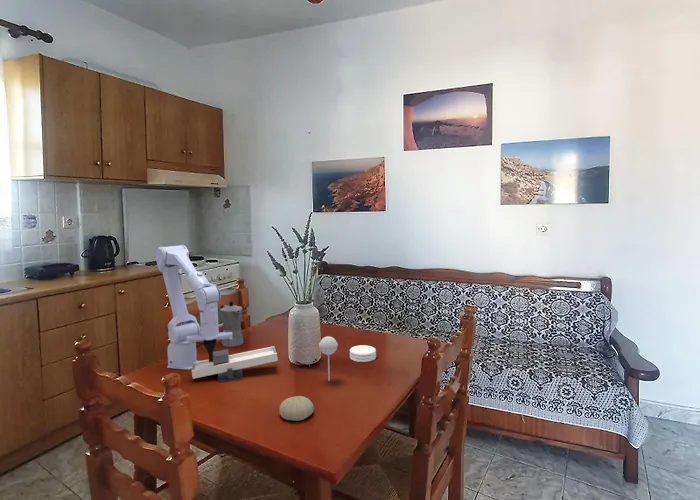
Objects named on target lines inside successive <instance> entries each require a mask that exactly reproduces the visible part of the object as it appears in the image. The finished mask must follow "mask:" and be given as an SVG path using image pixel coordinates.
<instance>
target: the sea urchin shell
mask: <svg viewBox="0 0 700 500" xmlns="http://www.w3.org/2000/svg"><path fill="white" fill-rule="evenodd" d="M278 411H279V414H280V416H281V418H282V419H284V420H287V421H293V422H301V421H303V420H306V419H307V418H308V417H310V416H311V415H312V414H313V412H314V404H313V402H312V401H311V400H310V399H309V398H307V397H306V396H302V395H298V396H297V395H296V396H295V395H294V396H291V397H287V398H285V399H284V400H283V401H282V402H281V403H280V405H279V410H278Z"/></svg>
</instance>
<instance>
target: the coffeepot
mask: <svg viewBox="0 0 700 500" xmlns="http://www.w3.org/2000/svg"><path fill="white" fill-rule="evenodd" d="M228 303H229V305H227V304H221V306H220V307H219V308H220V309H219V311H220V315H221V320H222V321H221V322H222V325H223V329H222V330H223V331H222V332H232V339H221V345H222V346H223V347H226V348H234V347H239V346H241V345H243V344H244V343H245V341H244V338H243V332H242V328H241V324H242V318H243V307H242V306H240V305H239V306H238V305H234V301H229V302H228Z"/></svg>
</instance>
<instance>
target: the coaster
mask: <svg viewBox="0 0 700 500" xmlns="http://www.w3.org/2000/svg"><path fill="white" fill-rule="evenodd" d="M376 358H377V349H376V348H375V347H373V346H371V345H364V344H362V345H361V344H360V345H355V346H352V347H351V348H350V349H349V359H350V360H352V361H354V362H358V363H368V362H372V361H374V360H376Z"/></svg>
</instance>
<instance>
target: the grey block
mask: <svg viewBox="0 0 700 500" xmlns="http://www.w3.org/2000/svg"><path fill="white" fill-rule="evenodd" d="M212 354H213V355H212V358H213V364H214V366H215V365H220V364H225V363H229V362H230V360H229V355H230V353H229V349H228V348H227V349H220V350H216V351H213V353H212Z"/></svg>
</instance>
